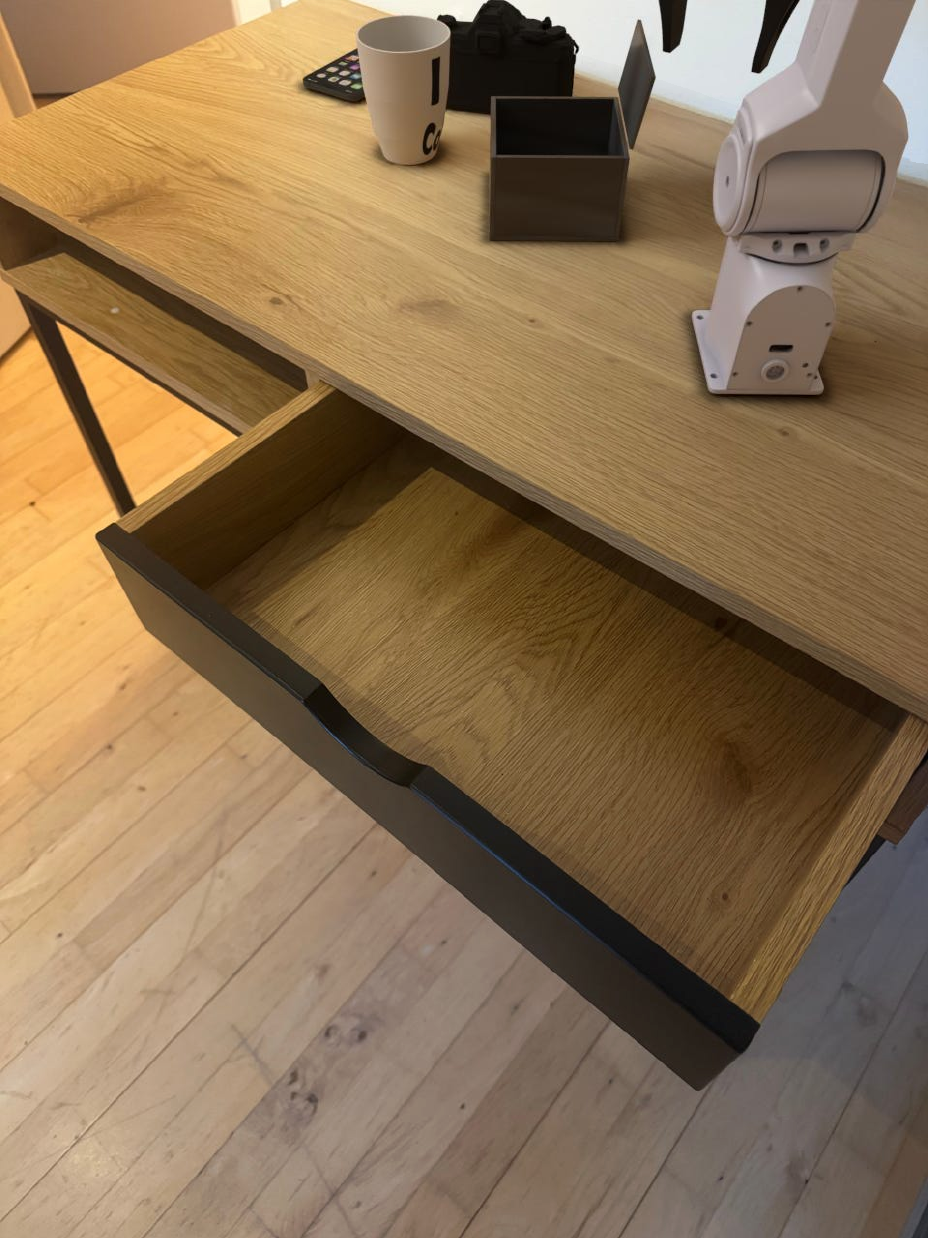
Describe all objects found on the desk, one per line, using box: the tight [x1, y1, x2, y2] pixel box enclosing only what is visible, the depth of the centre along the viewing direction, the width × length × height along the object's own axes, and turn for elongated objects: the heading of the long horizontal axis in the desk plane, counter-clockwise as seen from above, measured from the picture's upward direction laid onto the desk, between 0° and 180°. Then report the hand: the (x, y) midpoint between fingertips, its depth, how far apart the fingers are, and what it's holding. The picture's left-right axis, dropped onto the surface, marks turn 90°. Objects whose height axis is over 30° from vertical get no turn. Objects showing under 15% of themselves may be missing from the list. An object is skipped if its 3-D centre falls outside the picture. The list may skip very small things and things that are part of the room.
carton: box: [488, 96, 631, 242], centre depth 76 cm, size 11×11×7 cm
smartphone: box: [302, 47, 366, 102], centre depth 96 cm, size 7×1×15 cm
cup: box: [355, 14, 450, 166], centre depth 81 cm, size 8×8×10 cm
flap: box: [617, 19, 657, 150], centre depth 71 cm, size 11×5×1 cm
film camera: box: [436, 0, 580, 115], centre depth 89 cm, size 15×10×9 cm, turn 74°
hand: (714, 58), depth 74 cm, fingers open, 7 cm apart
